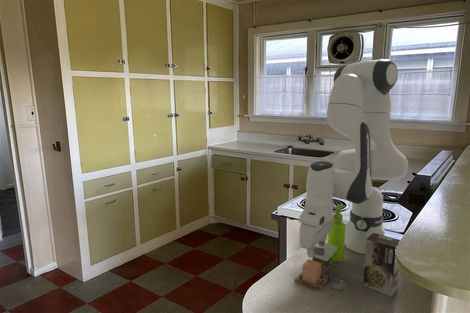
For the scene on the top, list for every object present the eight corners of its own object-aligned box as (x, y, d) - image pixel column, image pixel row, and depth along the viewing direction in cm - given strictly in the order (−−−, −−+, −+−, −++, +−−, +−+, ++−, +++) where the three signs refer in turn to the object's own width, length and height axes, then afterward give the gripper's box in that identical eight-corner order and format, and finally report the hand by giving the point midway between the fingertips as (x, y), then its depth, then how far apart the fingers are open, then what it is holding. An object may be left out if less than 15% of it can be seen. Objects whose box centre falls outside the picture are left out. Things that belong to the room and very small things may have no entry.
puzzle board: (316, 260, 123) (317, 245, 121) (337, 266, 118) (338, 251, 117) (294, 282, 108) (295, 265, 107) (318, 290, 104) (319, 273, 102)
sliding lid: (318, 244, 121) (318, 236, 120) (337, 249, 117) (338, 241, 116) (306, 255, 113) (307, 246, 112) (327, 261, 109) (327, 252, 108)
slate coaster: (331, 278, 110) (331, 277, 110) (348, 284, 107) (348, 282, 107) (325, 286, 106) (325, 284, 106) (343, 292, 103) (343, 290, 103)
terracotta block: (307, 275, 112) (308, 259, 111) (320, 280, 110) (321, 263, 108) (301, 281, 109) (302, 264, 107) (315, 286, 106) (316, 269, 105)
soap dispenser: (347, 256, 125) (351, 205, 121) (338, 263, 120) (341, 210, 117) (333, 251, 129) (336, 201, 126) (323, 257, 125) (326, 206, 121)
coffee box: (398, 288, 105) (403, 240, 102) (391, 297, 100) (397, 247, 97) (369, 277, 111) (373, 231, 108) (361, 285, 106) (365, 238, 103)
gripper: (321, 201, 119) (319, 237, 122) (296, 219, 102) (294, 260, 105) (338, 205, 115) (336, 242, 118) (316, 223, 99) (314, 266, 102)
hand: (316, 251), depth 111 cm, fingers open, 8 cm apart
